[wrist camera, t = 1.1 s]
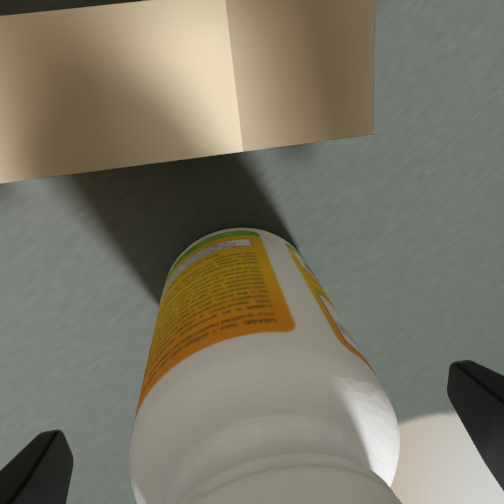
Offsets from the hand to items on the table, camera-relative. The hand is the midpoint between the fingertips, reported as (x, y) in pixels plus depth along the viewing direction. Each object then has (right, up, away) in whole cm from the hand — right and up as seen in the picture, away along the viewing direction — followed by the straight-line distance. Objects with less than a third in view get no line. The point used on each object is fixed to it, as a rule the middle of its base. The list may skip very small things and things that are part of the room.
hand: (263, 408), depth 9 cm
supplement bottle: (-1, +2, +5) cm, 6 cm away
